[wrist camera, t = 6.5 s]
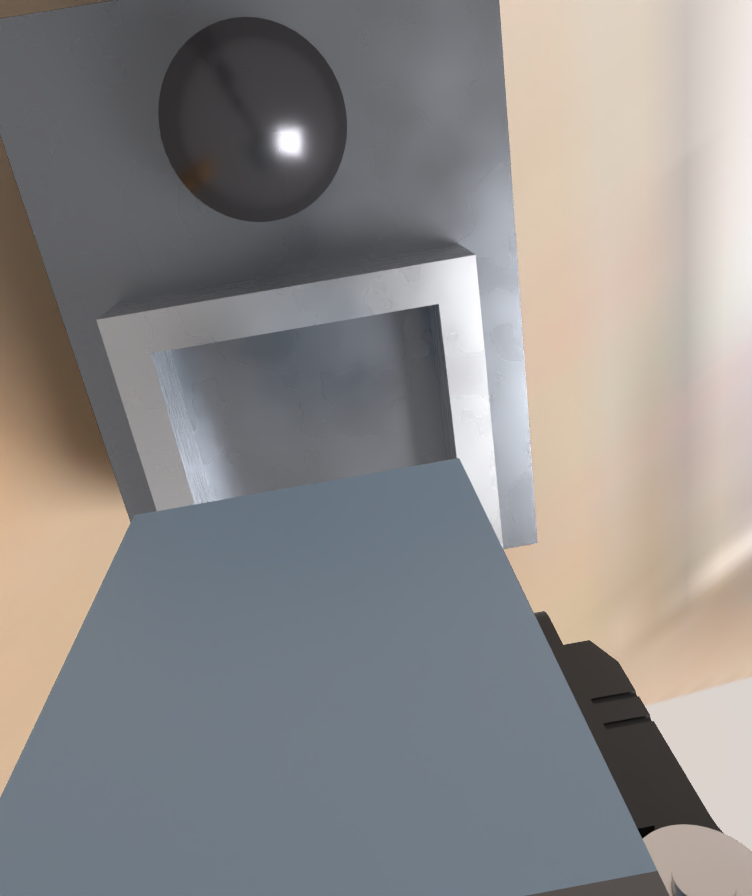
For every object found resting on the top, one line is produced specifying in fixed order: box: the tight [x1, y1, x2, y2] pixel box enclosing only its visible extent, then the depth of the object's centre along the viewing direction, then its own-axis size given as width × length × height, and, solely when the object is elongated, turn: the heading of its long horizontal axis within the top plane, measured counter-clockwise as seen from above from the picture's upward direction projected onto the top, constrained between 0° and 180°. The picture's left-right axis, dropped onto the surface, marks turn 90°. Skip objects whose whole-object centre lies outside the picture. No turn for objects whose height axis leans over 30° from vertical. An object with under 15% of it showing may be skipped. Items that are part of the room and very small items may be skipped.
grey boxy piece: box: [0, 0, 537, 549], centre depth 21 cm, size 16×12×9 cm
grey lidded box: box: [0, 458, 670, 896], centre depth 9 cm, size 5×5×8 cm
